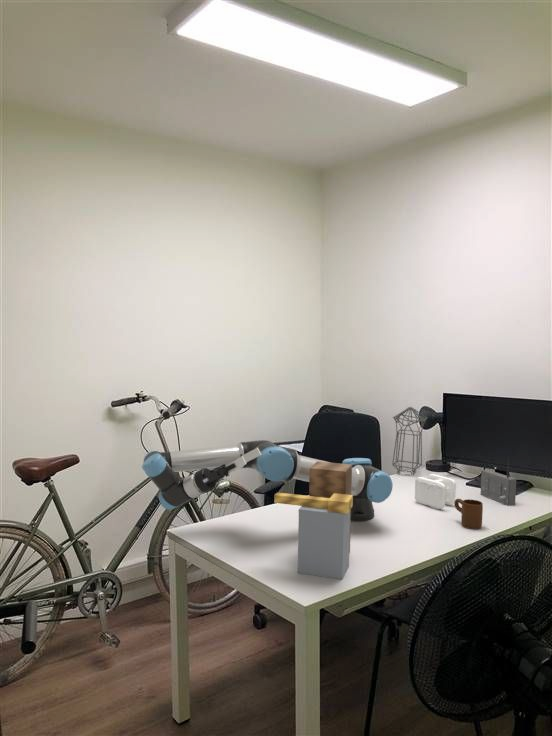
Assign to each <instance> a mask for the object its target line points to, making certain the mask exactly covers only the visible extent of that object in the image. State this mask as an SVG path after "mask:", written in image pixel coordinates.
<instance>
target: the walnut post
mask: <svg viewBox="0 0 552 736" xmlns="http://www.w3.org/2000/svg"><path fill="white" fill-rule="evenodd" d="M308 483H309V484H308V487H309V489H308V496H314V497H323V498H330V497H331V496H332V495H333V494H334V493H337V494H346V495H351V487H352V465H351V464H342V463H337V462H331V463H329V461H326V462H318V461H317V462H316V463H315V464H314V465H313V466H311V467H310V473H309V482H308ZM351 522H352V520H351V509H350V531H351V527H352V525H351ZM350 553H351V538H350V539H349V554H350Z"/></svg>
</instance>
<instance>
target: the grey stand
mask: <svg viewBox="0 0 552 736" xmlns="http://www.w3.org/2000/svg"><path fill="white" fill-rule="evenodd" d="M299 507H300V508H298V529H297V530H298V533H297V534H298V539H297V541H298V542H297V543H298V544H297V573H298V574H304V575H309V576H310V575H311V576H318V577H325V578H331V579H338V580H343V579H344V577H345V574H346V573H347V571H348V569H349V568H350V553H349V539H350V540H351V530H350V511H349V512H348V514H344V513H335V512H328V509H324V508H315V507H307V506H299Z"/></svg>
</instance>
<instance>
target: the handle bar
mask: <svg viewBox="0 0 552 736" xmlns="http://www.w3.org/2000/svg"><path fill="white" fill-rule="evenodd" d="M273 498H274V501H273V502H274V504H282V505H290V506H299V507H301V506H307V507H315V508H324V509H328V512H335V513H344V514H348V512H349V511H350V509H351V508H352V506H353V495H346V494H337V493H334V494H333V495H332V496H331V497H330V498H323V497H314V496H309V495H303V494H295V493H284V492H276V493H275V494H274V496H273Z"/></svg>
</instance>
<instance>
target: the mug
mask: <svg viewBox="0 0 552 736" xmlns="http://www.w3.org/2000/svg"><path fill="white" fill-rule="evenodd" d="M453 505H454V508H455V509H456V510H457V511H458V512H460V514H461V516H460V517H461V518H460V519H461V521H460V522H461V526H463V527H464V528H465V529H466V528H467V529H471V530H479V529H481V528H482V527H483V512H484V511H483V510H484V509H483V508H484V507H483V505H484V504H483V501H480V500H477V499H467V498H466V499H462V498H455V502H454V504H453ZM460 505H461V506H460Z"/></svg>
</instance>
